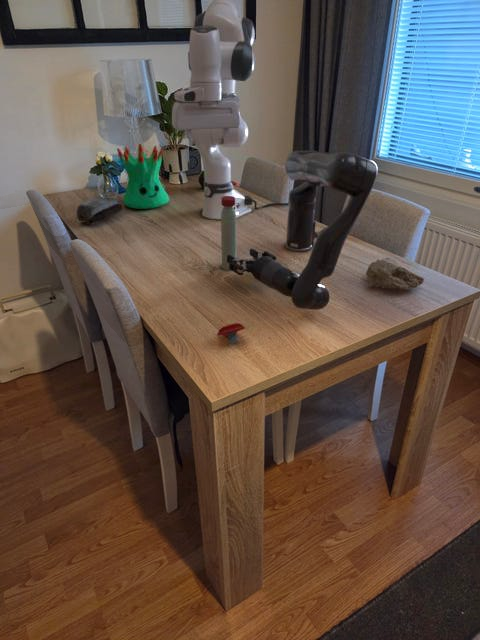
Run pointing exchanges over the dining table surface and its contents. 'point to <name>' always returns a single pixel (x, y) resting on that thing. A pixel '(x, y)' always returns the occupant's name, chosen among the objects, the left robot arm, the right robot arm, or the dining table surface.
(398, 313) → the dining table surface
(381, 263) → the artifact
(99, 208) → the rock
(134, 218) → the dining table surface
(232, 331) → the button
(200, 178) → the toy
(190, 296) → the dining table surface
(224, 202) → the cap
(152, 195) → the toy
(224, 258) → the bottle
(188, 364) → the dining table surface
